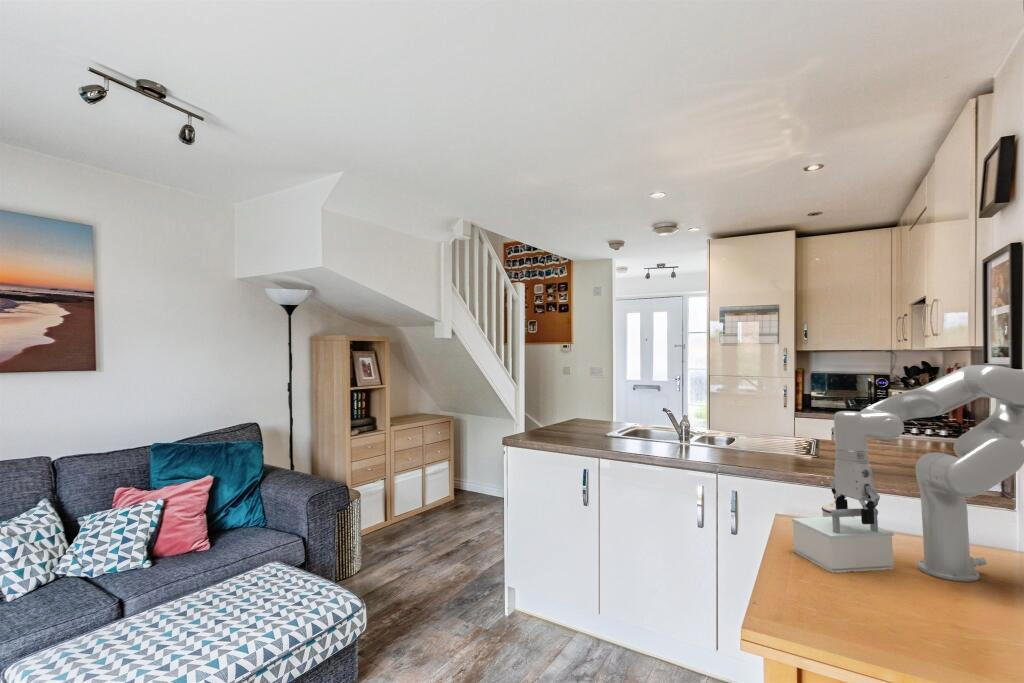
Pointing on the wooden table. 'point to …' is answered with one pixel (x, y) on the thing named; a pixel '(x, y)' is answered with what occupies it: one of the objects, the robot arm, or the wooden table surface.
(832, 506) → the teacup with lid
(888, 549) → the carton
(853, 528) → the carton lid
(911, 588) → the wooden table surface
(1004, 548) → the wooden table surface
